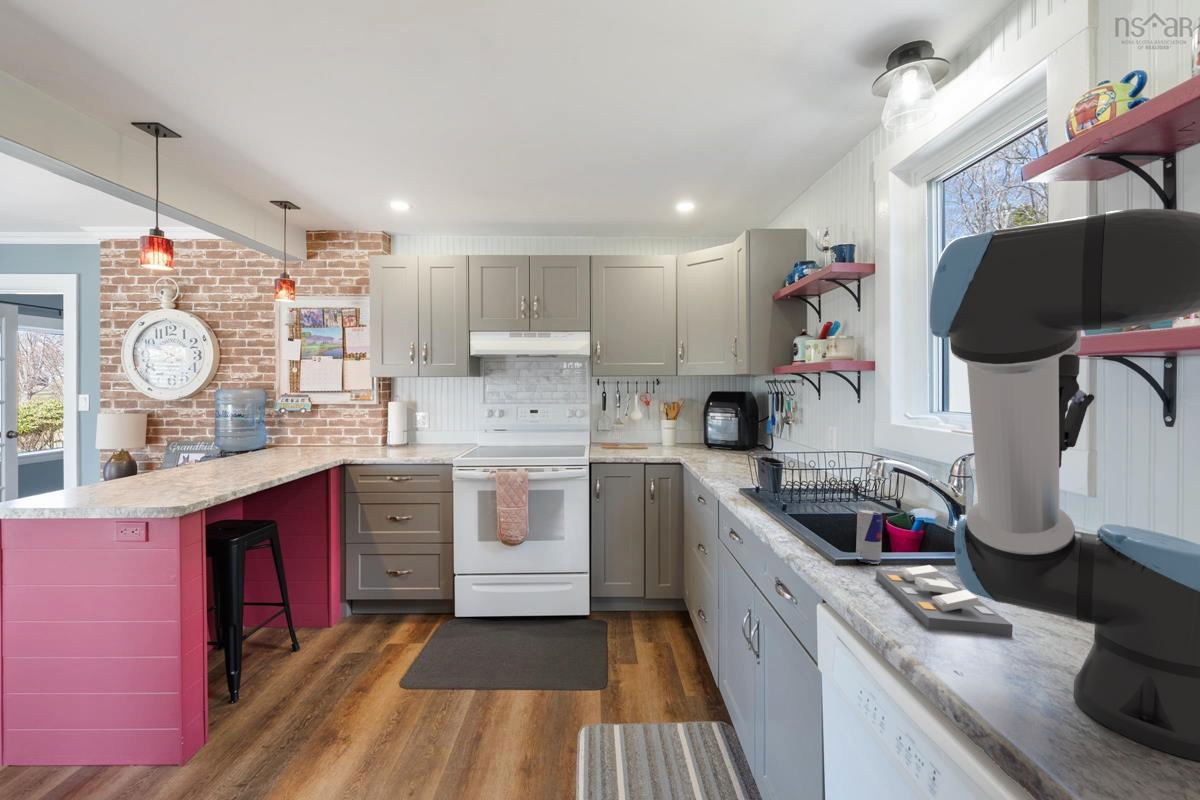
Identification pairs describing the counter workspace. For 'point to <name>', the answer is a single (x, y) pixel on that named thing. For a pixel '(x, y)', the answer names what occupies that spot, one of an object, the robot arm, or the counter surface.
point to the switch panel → (933, 617)
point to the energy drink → (869, 535)
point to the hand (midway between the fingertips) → (1045, 485)
